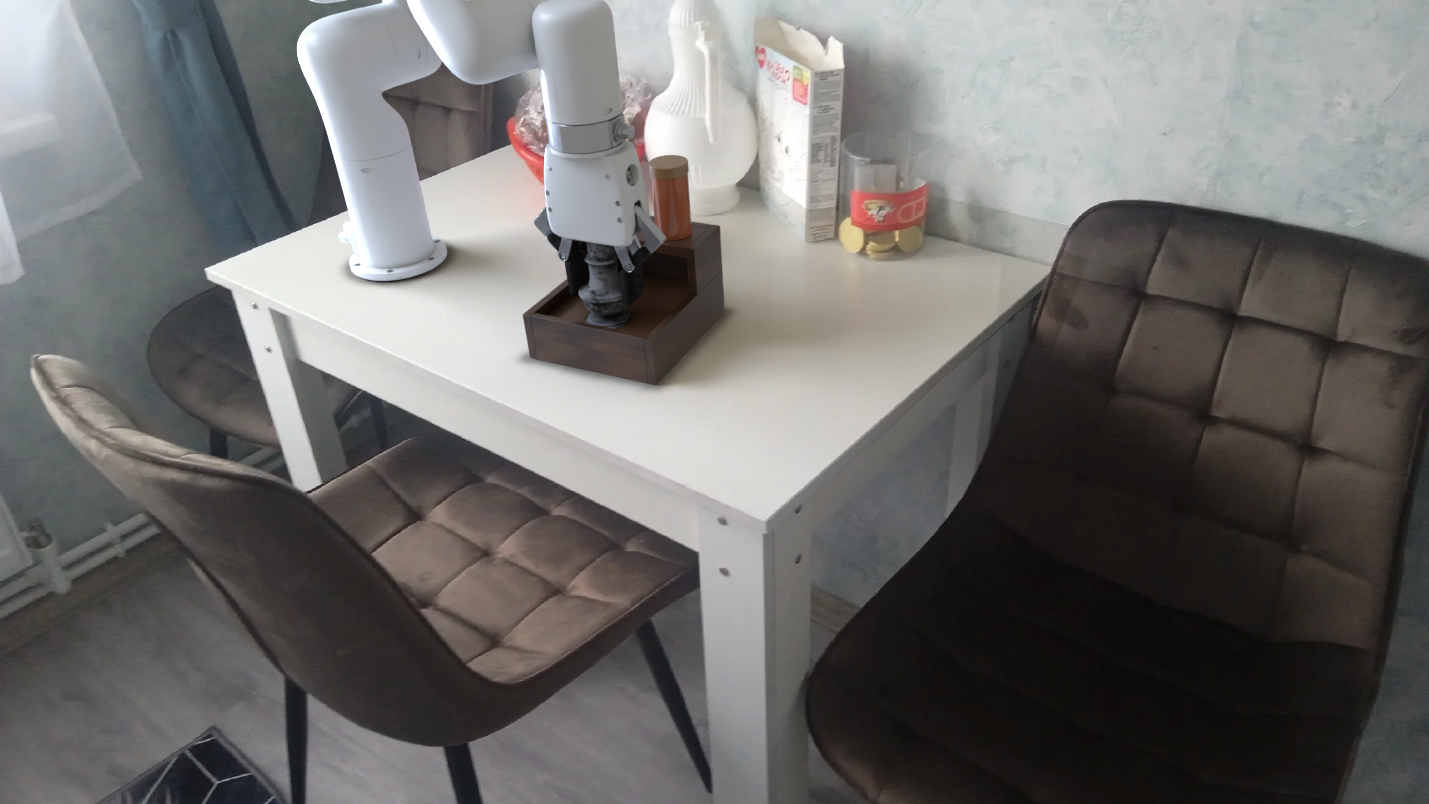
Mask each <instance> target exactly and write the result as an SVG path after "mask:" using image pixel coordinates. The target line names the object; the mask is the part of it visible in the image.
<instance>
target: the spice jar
mask: <svg viewBox="0 0 1429 804" xmlns="http://www.w3.org/2000/svg"><path fill="white" fill-rule="evenodd" d="M689 172H690V169H689V160H688V158H687V157H685V156H683V155H677V154H665V155H660V156H656V157H654V158H651V159H650V160H649V162H648V173H649V175H650V184H651V194H652V206H653V207H652V208H653V216H654V218H655V225H656V226H657V227H658V228H659V229H660V230H661V231H662V233H663V234H664V235H665V236H666V240H680V239H684V238H686V237H688V236H690V235H691V233H692V223H691V222H692V211H691V196H690V183H689V181H690V180H689Z"/></svg>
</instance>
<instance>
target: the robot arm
mask: <svg viewBox="0 0 1429 804" xmlns="http://www.w3.org/2000/svg"><path fill="white" fill-rule="evenodd" d="M309 1H310V2H313V3H316V4H333V3H340V2H344V1H346V0H309ZM381 1H382V2H380V3H377V4H371V5H369V6H364V7H357V8H353V9H350V10H346V11H342V12H338V13H334V14H330V15H327V16H324V17H322V18H319V19H318V20H315V21H312V22H311V23H310V24H309V25H307V26H306V27H305V28H304V29H303V31H301V33H300V34H299V38H298V40H297V43H296V44H297V45H296V53H297V59H298V62H299V64H300V68H301V70H302V73H303V76H304V77H305V79H306V82H307V84H308V86H309V88H310V90H311V92H312V95H313V97H314V99H315V101H316V104H317V106H318V107H317V108H318V109H319V112H320V115H321V117H322V121H323V124H324V127H325V130H326V134H327V137H328V142H329V144H330V148H331V151H332V155H333V159H334V162H335V165H336V170H337V173H338V178H339V181H340V185H341V188H342V192H343V196H344V199H345V203H346V207H347V211H348V215H349V219H350V220H347V221H345V222H344V223H343V226H342V231H340V232H339V233H338V234H337V235H338V237H337V238H338V241H340V242H341V243H347V244H351V246H352V250H353V253H352V254H351V256H350V258H349V261H348V263H349V266H350V267H349V268H350V271H351V272H352V273H353V274H354V275H355V276H357V277H359V278H361V279H364V280H369V281H376V282H377V281H378V282H389V281H399V280H405V279H409V278H413V277H417V276H420V275H422V274H425V273H427V272H430V271H432V270H433V269H435V268H437V267H438V266H440V265H441V264H442V263H443V262H444V261H445V260H446V258H447V256H448V248H447V245H446V242H445V241H444V240H443V239H442V238H440V237H439V236H436V235H432V230H431V226H430V222H429V217H428V214H427V213H428V212H427V209H426V204H425V199H424V194H423V190H422V185H421V181H420V177H419V171H418V168H417V163H416V158H415V154H414V150H413V144H412V140H411V137H410V133H409V132H410V131H409V129H408V126H407V123H406V122H405V120H404V118H403V117H402V116H401V114H400V113H399V112H398V111H397V110H396V109H395V108H394V107H392V106H391V105H390V104H389V103H388V102H387V101H386V99H385V98H384V97H383V93H384V92H386V91H388V90H390V89H392V88H395V87H399V86H402V85H405V84H408V83H411V82H414V81H418V80H420V79H424V78H426V77H428V76H430V75H433V74H434V73H436V72H437V71H438V70H439V68H440V67H441V66H442V64H444V65H445V66H446V67H447V69H448V70H449V71H450V72H451V74H453V75H454V76H455V77H456V78H458V79H460V81H462V82H465V83H468V84H470V85H471V84H472V85H487V84H491V83H494V82H497V81H500V80H503V79H506V78H509V77H512V76H516V75H519V74H521V73H524V72H527V71H533V70H536V69H538V75H539V81H540V88H541V89H540V90H541V96H542V103H543V109H544V116H545V124H546V131H547V138H548V143H546V145H545V149H544V158H543V160H544V162H543V163H544V164H543V183H544V184H543V185H544V198H545V199H544V200H545V206H544V208H543V209H542V210H541V211H540V213H539V214H538V215H537V216H536V217H535V219H534V220H533V225H534V226H535V227H536V228H537V230H539V231H540V233H541V234H542V235H543V236H545V237H546V240H547V241H548V242H549V244H550V245H551V246H552V247H553V248H554V250H556V252H557V256H558V258H559V260H560V261H562V262H564V268H565V275H566V279H567V281H568V283H569V290H570V294H571V295H574V296H576V295H578V294H579V289H580V287H581V286H582V285H583V284H585V283H586V282H588V281H589V279H590V275H589V268H588V263H587V262H586V261H585V256H586V255H587V254H586V252H585V251H582V250H581V247H582V243H583V241H584V242H590V243H596V244H603V245H609V246H614V248H615V250H616V253H617V255H618V257H619V259H620V261H621V264H622V266H623V268H624V269H623V270H622V271H620V274H619V276H620V285H621V293H622V302H623V304H624V305H627V306H630V305H631V304H632V303H633V302H634V301H635V300H637V299H638V298H639V297H640V296H641V295H642V293H643V289H644V285H643V275H642V265H641V264H642V263H643V262H644V261H645V260H646V259H647V258H648V257H649V256H650V255H651V254H652V253H653V252H654V251H655V250H656V249H657V248H658V247H660V246H661V245H662V244H663V243H664V242H665V241H666V236H665V235H664V234H663V233H662V231H661V230H660V229H659V228H658V227H657V226H656V225H655V223H654V222H653V221H652V220H651V219H650V216H651V214H650V213H651V211H650V206H649V200H648V194H647V188H646V183H645V178H644V173H643V169H642V166H641V162H640V157H639V155H638V151H637V150H636V147H635V144H634V142H633V141H630V140H633V139H634V137H635V133H636V129H635V126H634V125H633V124H628V123H627V122H626V119H625V113H624V111H623V100H622V92H621V83H620V81H621V80H620V73H619V64H618V62H619V61H618V52H617V42H616V32H615V25H614V16H613V12H612V9H611V7H610V5H609V4H608V3H607V2H606V1H605V0H381ZM636 233H641V234H642V235H643V236H644V237H645V239H646V242H645V244H644V245H643V246H642V247H641V244H640V242H639V240H638V238H637V235H636ZM627 246H628V247H629V249H630V252H631V254H632V256H631V254H630V252H629V249H628V247H627Z"/></svg>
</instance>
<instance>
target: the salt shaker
mask: <svg viewBox="0 0 1429 804" xmlns="http://www.w3.org/2000/svg"><path fill="white" fill-rule="evenodd" d="M586 244H587V252H588V254H587V255H586V256H585V261H586V262H587V263H588V265H589V273H590V279H589V281H588V282H586V283H585V284H583V285H582V286H581V287H580V289H579V296H580V297H581V298H582V299H583V303H584V304H585V306H586V307H587V309H588V310H590V311H591V312H590V313H589V314H588V315H587V316H586V318H585V321H586V323H588V324H593V325H598V326H603V327H608V328H613V329H618V328H622V327H624V326H626V325H628V324H629V323H630V322H631V321H632V320H633V317H634V316H633V312H632V311H631V310H629V309H627V308H626V306H627V305H624V304H623V302H622V293H621V285H620V277H619V274H618V268H617V259H618V258H619V257H618V255H617V253H616V252H615V248H614V246H609V245H603V244H596V243H590V242H586Z"/></svg>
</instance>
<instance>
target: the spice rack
mask: <svg viewBox="0 0 1429 804" xmlns="http://www.w3.org/2000/svg"><path fill="white" fill-rule="evenodd" d="M650 219H651V220H652V221H653V222H654V223H655V218H654V215H650ZM691 223H692V233H691V235H690V236H688V237H686V238H684V239H680V240H666V241H665V242H664V243H663V244H662V245H661V246H660V247H658V248H657V249H656V250H655V251H654V252H653V253H652V254H651V255H650V256H649V257H648V258H647V259H646V260H645V261H644V262H643V263H642V264H641V265H642V275H643V285H644V289H643V293H642V295H641V296H640V297H639V298H638V299H637V300H635V301H634V302H633V303H632V304H631V305H630V306H626V308H627V309H629V310H631V311H632V312H633V316H634V317H633V320H632V321H631V322H630V323H629V324H628V325H626V326H624V327H622V328H618V329H613V328H608V327H603V326H598V325H593V324H588V323H586V321H585V318H586V316H587V315H588V314H589V313H590V312H591V311H590V310H588V309H587V307H586V306H585V304H584V303H583V299H582V298H581V297H580V296H579V294H578V295H576V296H574V295H571V294H570V290H569V283H568V281H567V278H566V279H565V280H564V281H562V282H561V283H560V284H559V285H557V286H556V287H554V289H552V290H551V291H549V293H548V294H547V293H546V295H545V296H543V297H542V298H541V299H540V300H538V301H537V302H536V303H534V305H532V306H531V307H530V308H528V310H526V311H524V313H522V319H523V325H524V332H525V336H526V343H527V348H528V353H529V358H530V359H533V360H539V361H544V362H548V363H553V364H557V365H562V366H566V367H571V368H575V369H578V370H579V369H580V370H584V371H589V372H593V373H598V374H602V375H607V376H611V377H616V378H621V379H625V380H631V381H635V382H638V383H639V382H640V383H644V384H649V385H653V386H657V385H658V384H659V383H660V382H661V381H662V380H663V379H664V378H665V377H666V376H667V375H668V373H669V372H671V370H672V369H673V368H674V367H675V366H676V365H677V364H678V363H679V362H680V361H681V360H682V359H683V358H684V356H685V355H687V353H689V351H690V350H691V349H692V348H693V347H694V346H695V345H696V344H697V343H698V341H699V340H700V339H702V337H703V336H704V335H705V334H706V333H707V332H708V331H709V330H710V329H711V328H712V327H713V325H714V324H716V322H717V321H718V320H720V318H721V317H722V316H723V315H724V314H725V312H726V310H725V309H726V307H725V290H724V272H723V258H722V239H721V225H718V224H710V223H706V222H705V223H704V222H697V221H691ZM636 235H637V238H638V240H639V242H640V244H641V247H642V246H643V245H644V244H645V242H646V239H645V237H644V236H643V235H642V234H641V233H636ZM627 247H628V246H627ZM628 249H629V247H628ZM581 250H582V251H585V252H586V254H588V252H587V244H586V242H584V241H583V243H582V247H581ZM615 252H616V250H615ZM629 252H630V249H629ZM630 254H631V252H630ZM631 256H632V254H631ZM588 268H589V265H588ZM617 268H618V274H620V271H622V270H623V269H624V268H623V266H622V264H621V261H620V259H619V258H618V259H617ZM589 275H590V273H589ZM619 277H620V276H619Z"/></svg>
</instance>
